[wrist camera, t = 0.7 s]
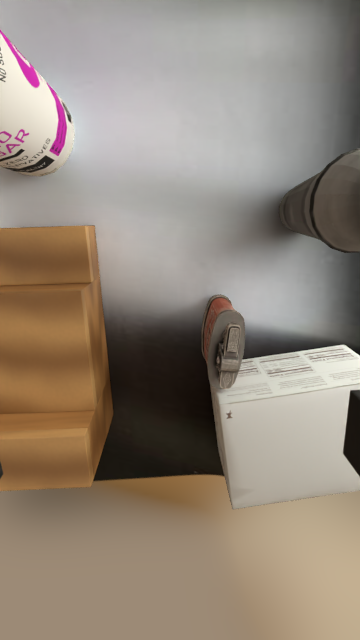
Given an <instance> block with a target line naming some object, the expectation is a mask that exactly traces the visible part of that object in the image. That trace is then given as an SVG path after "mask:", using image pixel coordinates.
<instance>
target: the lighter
mask: <svg viewBox="0 0 360 640" xmlns="http://www.w3.org/2000/svg"><path fill="white" fill-rule="evenodd" d="M244 343H245V324H244V318H243V317H242V316H241V314H240V313H239V312H237V311H236V310H234V308H233V307H232V304H231V301H230V300H229V299H228V298H227V297H226V296H224V295H215V296H212V297H211V298H210V299H209V301H208V304H207V307H206V310H205V313H204V318H203V323H202V332H201V344H202V353H203V357H204V358H205V359H206V362H207V367H208V378H209V381H210V384H211V385H212V386H213V387H215V388H217V389H229V388H231V387H232V385H233V384H234V383H235V380H236V378H237V375H238V372H239V370H240V366H241V362H242V358H243V354H244Z"/></svg>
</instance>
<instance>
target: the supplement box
mask: <svg viewBox="0 0 360 640" xmlns="http://www.w3.org/2000/svg"><path fill="white" fill-rule="evenodd" d="M210 387H211V395H212V403H213V411H214V419H215V427H216V435H217V443H218V450H219V455H220V459H221V463H222V467H223V471H224V476H225V480H226V484H227V489H228V493H229V497H230V501H231V505H232V509H239V508H245V507H252V506H259V505H265V504H272V503H279V502H286V501H293V500H299V499H306V498H313V497H319V496H326V495H333V494H340V493H347V492H354V491H360V477H359V475H358V474H357V472H356V471H355V470H354V468H353V467H352V466H351V464H350V463H349V461H348V460H347V459H346V457H345V456H344V454H343V447H344V439H345V430H346V422H347V413H348V405H349V396H350V390H360V356H359V355H358V354H356V353H355V352H354V351H352V350H351V349H350V348H348V347H347V346H345V345H339V346H332V347H325V348H319V349H312V350H305V351H298V352H292V353H285V354H278V355H271V356H265V357H258V358H251V359H244V360H242V362H241V366H240V370H239V372H238V375H237V378H236V380H235V383H234V384H233V385H232V387H231V388H229V389H217V388H215V387H213V386H212V385H211V384H210Z"/></svg>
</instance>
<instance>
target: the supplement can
mask: <svg viewBox="0 0 360 640" xmlns="http://www.w3.org/2000/svg"><path fill="white" fill-rule="evenodd" d="M74 136H75V133H74V127H73V121H72V117H71V115H70V113H69V111H68V109H67V107H66V105H65V103H64V102H63V100H62V99H61V98H60V97H59V96H58V95H57V94H56V92H55V91H54V90H53V89H52V88H51V87H50V86H49V85H48V83H47V82H46V81H45V80H44V79H43V78H42V77H41V76H40V74H39V73H38V72H37V71H36V70H35V69H34V68H33V66H32V65H31V64H30V63H29V62H28V61H27V60H26V59H25V57H24V56H23V55H22V54H21V53H20V52H19V51H18V50H17V48H16V47H15V46H14V45H13V44H12V43H11V42H10V40H9V39H8V38H7V37H6V36H5V35H4V34H3V33H2V31H1V30H0V166H1V167H4V168H7V169H10V170H13V171H16V172H19V173H22V174H25V175H31V176H43V175H47V174H50V173H53V172H55V171H56V170H58V169H59V168H60V167H61V166H62V165H64V164H65V163H66V161H67V159H68V157H69V155H70V153H71V152H72V149H73V142H74Z"/></svg>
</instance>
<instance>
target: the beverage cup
mask: <svg viewBox="0 0 360 640" xmlns="http://www.w3.org/2000/svg"><path fill="white" fill-rule="evenodd" d="M279 215H280V219H281V221H282V223H283V224H284V225H285V226H286V227H287V228H288V229H291V230H292V231H295V232H298V233H301V234H304V235H307V236H310V237H314V238H317V239H320V240H321V241H322V242H324V243H325V244H326V245H328V246H329V247H330V248H332V249H335V250H338V251H341V252H344V253H350V252H360V149H355V150H352V151H349V152H347V153H344V154H341V155H340V156H339V157H337V158H336V159H335V160H333V161H332V162H331V163H329V164H328V165H327V166H326V168H325V169H323V170H322V171H321V172H320V173H318V174H317V175H315V176H313V177H311V178H310V179H308V180H306V181H304V182H303V183H301V184H299V185H297V186H296V187H294V188H293V189H292V190H290V191H289V192H288V193H286V195H285V196H284V197H283V199H282V201H281V203H280V206H279Z"/></svg>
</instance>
